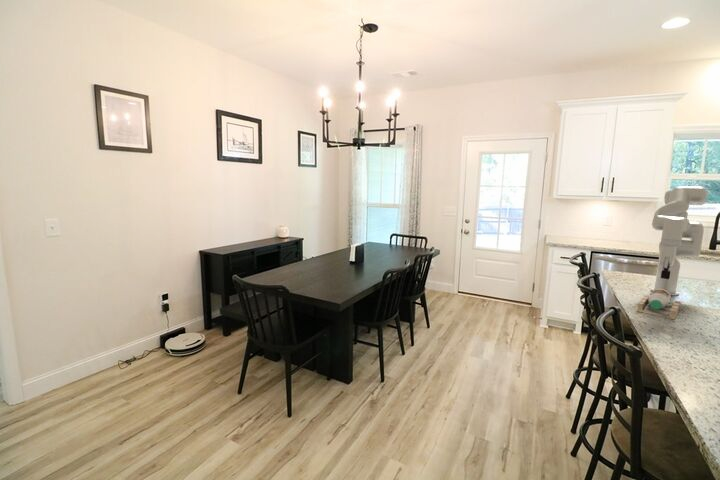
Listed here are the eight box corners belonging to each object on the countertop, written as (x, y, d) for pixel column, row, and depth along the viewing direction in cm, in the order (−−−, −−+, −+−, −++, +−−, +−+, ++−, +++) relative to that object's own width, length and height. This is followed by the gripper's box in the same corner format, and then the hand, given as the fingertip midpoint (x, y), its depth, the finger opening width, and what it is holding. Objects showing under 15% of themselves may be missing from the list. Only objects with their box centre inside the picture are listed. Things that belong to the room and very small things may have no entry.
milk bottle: (674, 298, 176) (670, 308, 162) (659, 305, 181) (654, 315, 167) (662, 285, 179) (657, 294, 165) (647, 293, 184) (641, 302, 170)
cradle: (643, 302, 184) (645, 294, 184) (679, 309, 174) (680, 301, 174) (636, 310, 171) (637, 303, 170) (674, 319, 161) (676, 310, 160)
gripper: (662, 240, 180) (657, 274, 183) (658, 243, 170) (652, 279, 173) (682, 242, 174) (676, 277, 177) (679, 245, 164) (673, 282, 167)
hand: (664, 278), depth 175 cm, fingers closed
